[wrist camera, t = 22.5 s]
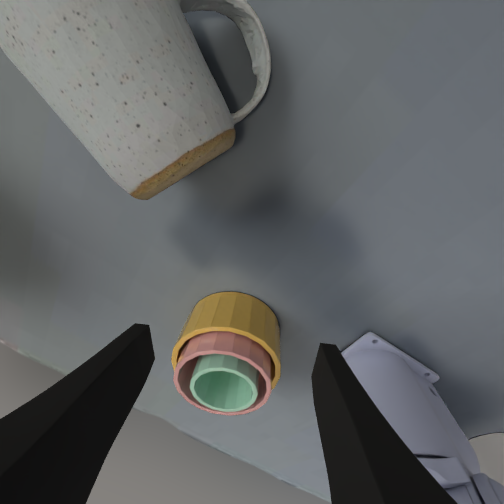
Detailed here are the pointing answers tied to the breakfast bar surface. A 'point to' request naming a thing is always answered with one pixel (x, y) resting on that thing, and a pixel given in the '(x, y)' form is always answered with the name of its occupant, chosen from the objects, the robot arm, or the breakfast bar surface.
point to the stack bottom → (234, 324)
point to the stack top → (227, 346)
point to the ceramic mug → (132, 81)
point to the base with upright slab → (490, 455)
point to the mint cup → (224, 382)
